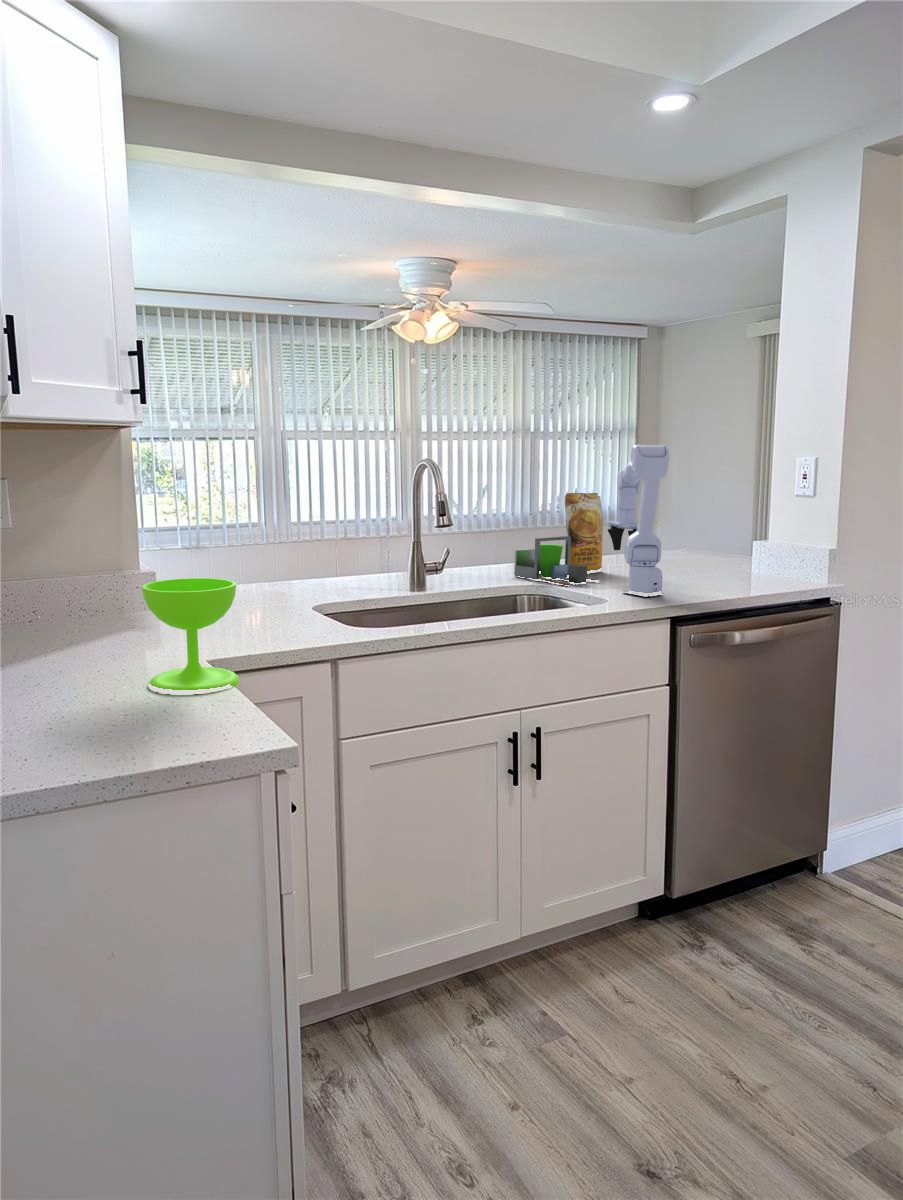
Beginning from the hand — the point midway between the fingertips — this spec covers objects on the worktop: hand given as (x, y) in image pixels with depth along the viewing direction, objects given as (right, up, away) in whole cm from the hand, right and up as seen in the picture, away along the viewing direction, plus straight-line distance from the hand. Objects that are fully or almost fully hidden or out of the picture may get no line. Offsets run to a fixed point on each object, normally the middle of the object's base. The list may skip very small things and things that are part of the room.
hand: (625, 551), depth 270 cm
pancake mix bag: (-10, -6, +24) cm, 27 cm away
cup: (-23, -9, +11) cm, 27 cm away
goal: (-26, -8, +13) cm, 30 cm away
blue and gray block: (-18, -10, +2) cm, 20 cm away
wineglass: (-102, -31, -119) cm, 160 cm away
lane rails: (-18, -10, +3) cm, 21 cm away
